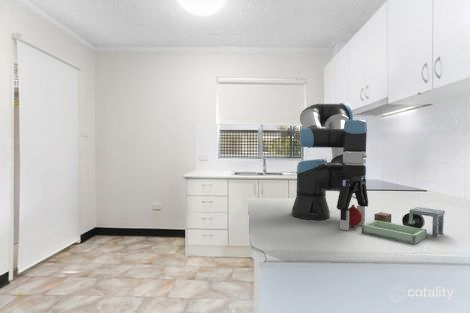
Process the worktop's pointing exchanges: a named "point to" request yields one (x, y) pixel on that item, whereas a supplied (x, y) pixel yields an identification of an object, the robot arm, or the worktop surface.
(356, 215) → the onion
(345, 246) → the worktop surface
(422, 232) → the tray
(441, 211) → the caster wheel
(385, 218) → the block
